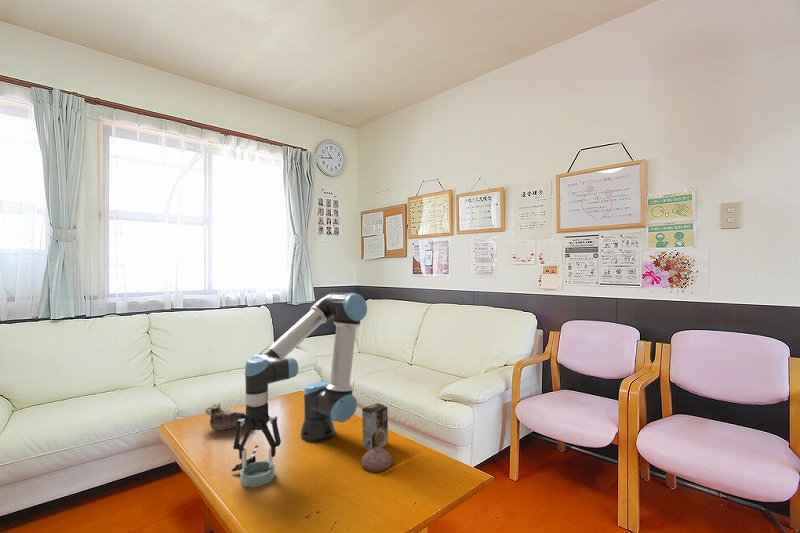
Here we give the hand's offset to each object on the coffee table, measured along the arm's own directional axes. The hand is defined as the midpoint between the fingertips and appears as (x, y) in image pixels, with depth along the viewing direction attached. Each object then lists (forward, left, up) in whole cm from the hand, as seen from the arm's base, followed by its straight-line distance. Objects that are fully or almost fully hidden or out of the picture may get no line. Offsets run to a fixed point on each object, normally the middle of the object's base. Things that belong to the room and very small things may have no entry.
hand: (257, 466), depth 136 cm
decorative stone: (-44, +1, -6) cm, 45 cm away
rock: (+25, -48, -5) cm, 54 cm away
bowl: (0, 0, -4) cm, 4 cm away
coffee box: (-43, -19, -5) cm, 47 cm away
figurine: (0, -2, +3) cm, 4 cm away
